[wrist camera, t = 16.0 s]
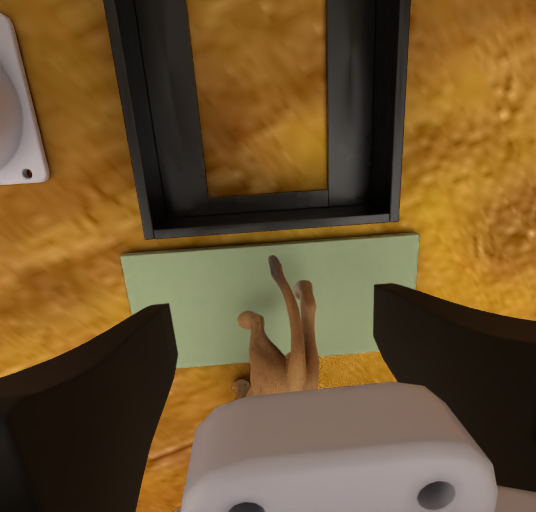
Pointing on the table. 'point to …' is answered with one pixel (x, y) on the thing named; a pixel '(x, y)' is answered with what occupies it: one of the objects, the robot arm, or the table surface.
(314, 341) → the lion figurine
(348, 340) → the sage mat
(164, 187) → the picture frame
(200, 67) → the table surface
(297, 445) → the robot arm
